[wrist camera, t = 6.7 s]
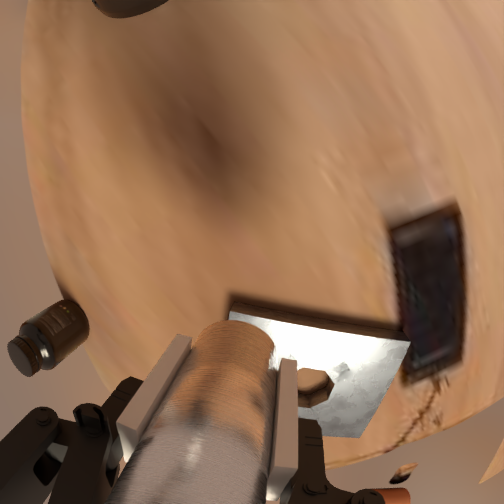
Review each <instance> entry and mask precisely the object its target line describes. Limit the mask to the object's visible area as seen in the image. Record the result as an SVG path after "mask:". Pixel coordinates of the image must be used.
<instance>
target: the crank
mask: <svg viewBox="0 0 504 504" xmlns="http://www.w3.org/2000/svg"><path fill="white" fill-rule="evenodd" d="M373 490H375V491H378V492H379V493H380V494H381V495H382V496H383V498H384V500H385V504H410V494H409V492H408V490H407V489H405V488H384V489H373Z"/></svg>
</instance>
